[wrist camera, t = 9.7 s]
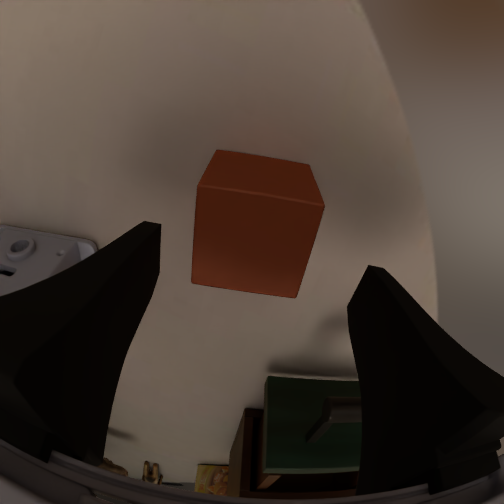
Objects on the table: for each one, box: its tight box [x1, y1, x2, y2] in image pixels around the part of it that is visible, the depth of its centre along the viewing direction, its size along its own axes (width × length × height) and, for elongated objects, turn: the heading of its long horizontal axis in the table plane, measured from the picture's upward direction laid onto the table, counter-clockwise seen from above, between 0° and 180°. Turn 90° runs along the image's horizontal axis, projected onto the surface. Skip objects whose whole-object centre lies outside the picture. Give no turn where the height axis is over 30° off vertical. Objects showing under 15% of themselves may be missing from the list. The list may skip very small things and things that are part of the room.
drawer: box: [250, 376, 362, 492], centre depth 20 cm, size 17×10×7 cm, turn 171°
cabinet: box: [226, 409, 356, 500], centre depth 25 cm, size 14×12×9 cm
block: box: [191, 150, 325, 298], centre depth 12 cm, size 4×4×4 cm
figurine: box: [142, 461, 163, 485], centre depth 41 cm, size 4×4×15 cm
